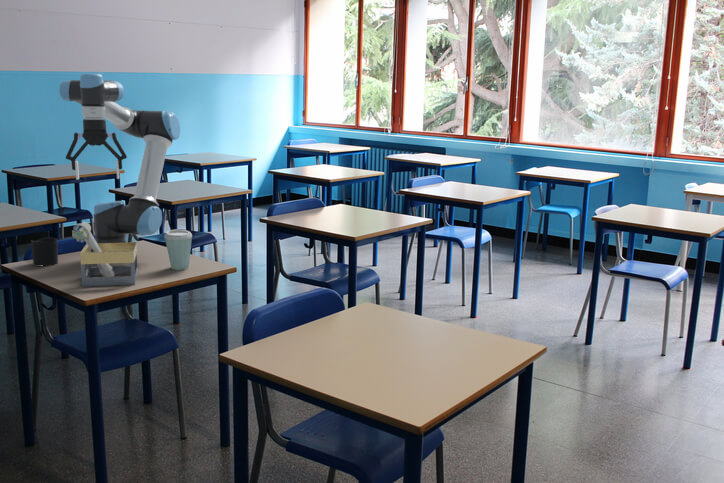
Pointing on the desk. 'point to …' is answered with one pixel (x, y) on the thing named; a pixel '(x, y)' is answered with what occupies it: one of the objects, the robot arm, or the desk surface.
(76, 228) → the toothbrush head
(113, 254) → the collar stand
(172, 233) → the disposable coffee cup
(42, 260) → the pen holder
